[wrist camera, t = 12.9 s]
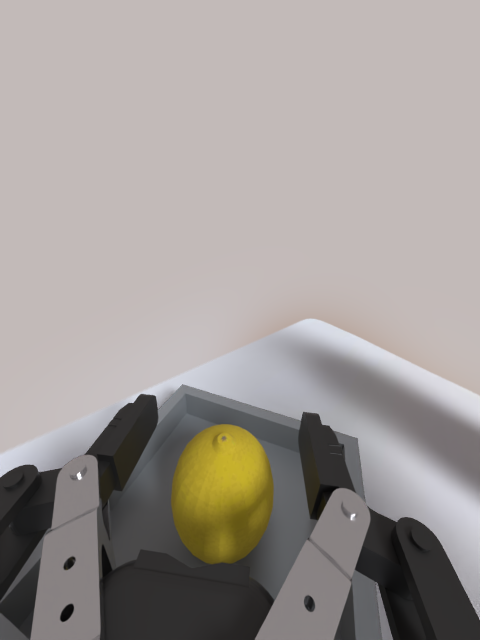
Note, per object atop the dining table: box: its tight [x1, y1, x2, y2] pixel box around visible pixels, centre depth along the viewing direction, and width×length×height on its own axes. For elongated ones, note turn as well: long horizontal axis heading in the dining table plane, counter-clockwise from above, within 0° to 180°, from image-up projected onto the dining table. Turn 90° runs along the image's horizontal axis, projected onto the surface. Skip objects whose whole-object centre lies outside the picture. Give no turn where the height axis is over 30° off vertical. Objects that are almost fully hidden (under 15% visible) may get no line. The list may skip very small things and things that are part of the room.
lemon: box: [171, 424, 274, 564], centre depth 13 cm, size 6×6×8 cm
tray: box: [0, 384, 382, 640], centre depth 14 cm, size 16×16×4 cm
